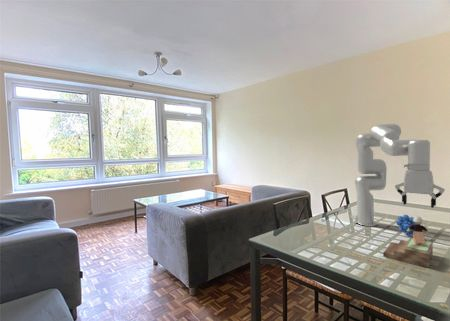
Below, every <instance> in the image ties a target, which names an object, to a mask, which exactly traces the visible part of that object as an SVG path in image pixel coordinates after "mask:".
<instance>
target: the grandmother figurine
mask: <svg viewBox="0 0 450 321" xmlns="http://www.w3.org/2000/svg"><path fill="white" fill-rule="evenodd" d="M413 221H414V222H415V224H414V225H411V226H409V227H408V230H407V231H408V232H410V230H413V229H414V231H413V236H412V238H413V241H414V242H413V244H414V245H419V244H418V243H420V245H421V246H425V245H426V244H425V243H424V241H425V234H426V236H429V235H430V233H429V230H428V229H427V227H425V226H424V225H423V224H422V223H423V218H422V217H421V216H415V217H414V219H413ZM424 233H425V234H424Z"/></svg>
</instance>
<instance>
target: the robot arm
mask: <svg viewBox="0 0 450 321" xmlns="http://www.w3.org/2000/svg"><path fill="white" fill-rule="evenodd" d="M401 134H402V129H401V127H400V126H399V125H398V124H396V123H382V124H375V125H373V126H372V127H371V129H370V132H366V133H361V134H358V135H357V137H356V139H355V146H356V149H357V170H358V172H359V174H362V175H361V176H358V177H356V178H355V179H354V186H355V190H356V213H357V214H356V215H354V214H353V215H352V214H351V215H350V218H351V219H352V220H354V223H355V222H358V223H359V224H361V225H365V226H364V227H375V226H377V225H378V223H377V222H376V221H375V206H374V204H375V201H374V200H375V199H374V196H373V194H372V192H370V191H383V190H384V189H386V185H387V163H386V161H384V159H381V158H374V151H373V150H372V148H373V147H380V149H381V151H382V152H383V153H385V154H386V155H388V156H391V157H404V156H406V157H407V163H406V164H404V165H403V167H404V168H405V169H407V170H405V172H404V179H403V182H401V183H399V184H396V185H394V188H395V189H396V191H397V193H399V194H400V195H401V203H403V204H402V205H405V206H406V204H407V202H408V201H407V199H408V198H407V197H408V195H407V193H410V194H417V195H429V196H430V197H431V199H430V208H432V209H433V208H434V207H437V198H439V197H440V196H443V193H445V190H446V189H445V188H443V187H442V186H439V185H437V184H435V183H434V175H433V172H432V170H431V169H430V168H431V167H430V166H431V142H430V141H429V140H428V139H400V136H401ZM401 187H403V190H402V189H401ZM434 189H436V190H438V192H437V193H436V194H435V192H434ZM361 225H360V226H361Z"/></svg>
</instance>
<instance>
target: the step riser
mask: <svg viewBox="0 0 450 321" xmlns="http://www.w3.org/2000/svg"><path fill="white" fill-rule="evenodd" d="M413 242H414V241H413V237H411V238H410V239H409V241H407V240H402V239H401V240H400V241H399V242H393V241H390V243H389V244H388V246H387V247H386V248H385V249H384V251H383V257H385V258H386V259H387V258H388V259H391V260H396V261H400V262H404V263H407V264H412V265H416V266H419V267H424V268H427V269H429V267H430V264H431V260H432V257H433V251H434V249H433V248H434V247H433V245H434V243H433V241H428V240H424V243H425V244H426V245H425V246H421V245H420V243H418V244H419V245H414V244H413Z"/></svg>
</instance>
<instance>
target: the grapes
mask: <svg viewBox="0 0 450 321" xmlns="http://www.w3.org/2000/svg"><path fill="white" fill-rule="evenodd" d="M414 218H415V217H413V216H409V215H408V214H403V215H398V216H397V220H396V222H395V223H396V225H397V226H399V227H398V229H399V231H400V232H402V233H404V234H405V236H407V237H411V236H412V237H413V231H414V229H413V230H410V232H408V231H407V230H408V227H409V226H411V225H414V224H415V222H414V221H413V219H414Z"/></svg>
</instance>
